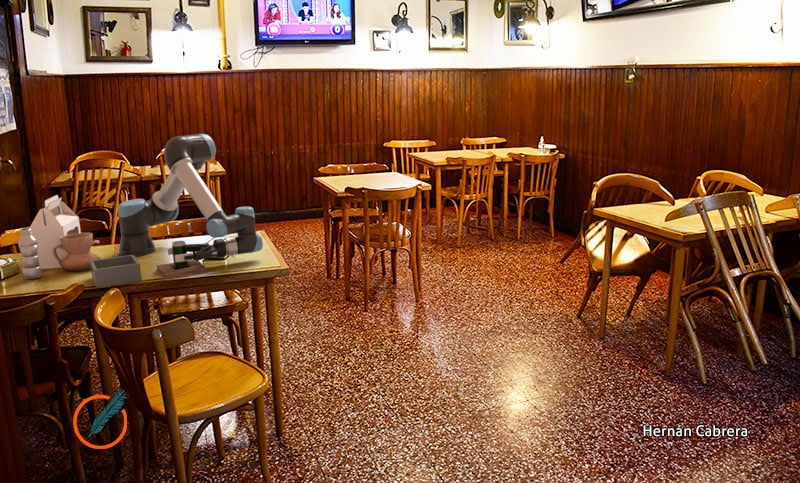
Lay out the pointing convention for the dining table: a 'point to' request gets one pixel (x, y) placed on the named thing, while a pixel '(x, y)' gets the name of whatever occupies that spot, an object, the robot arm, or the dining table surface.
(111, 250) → the dining table surface
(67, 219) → the gable box
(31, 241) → the plastic bottle
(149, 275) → the dining table surface
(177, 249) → the beer can
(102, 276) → the bin
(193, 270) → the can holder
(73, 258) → the ceramic jug
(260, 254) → the dining table surface
